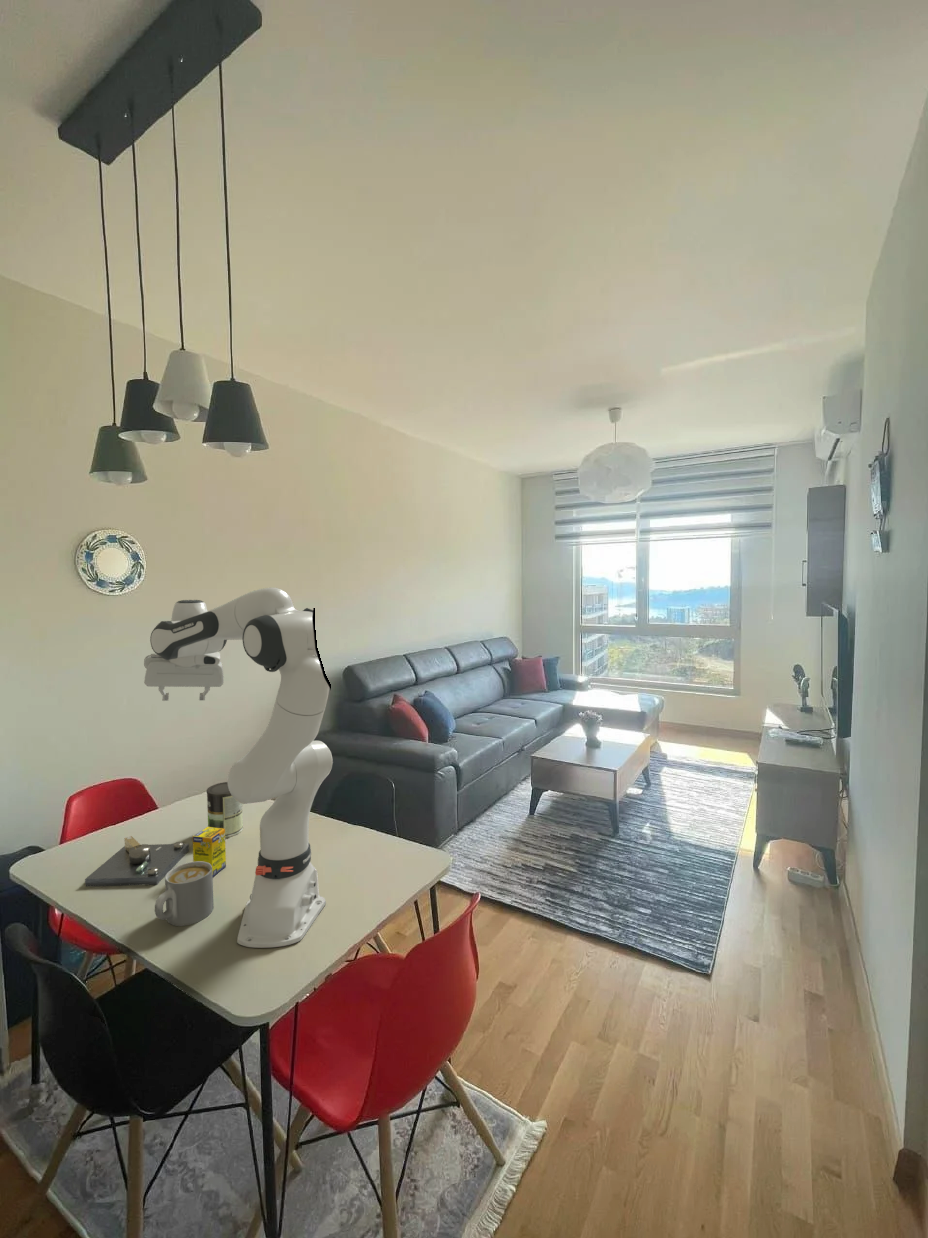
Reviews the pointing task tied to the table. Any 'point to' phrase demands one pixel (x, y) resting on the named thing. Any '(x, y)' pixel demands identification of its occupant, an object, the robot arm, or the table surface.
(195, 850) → the supplement box
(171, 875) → the coffee mug
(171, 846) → the plate
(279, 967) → the table surface
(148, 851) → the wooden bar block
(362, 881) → the table surface
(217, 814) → the coffee can
